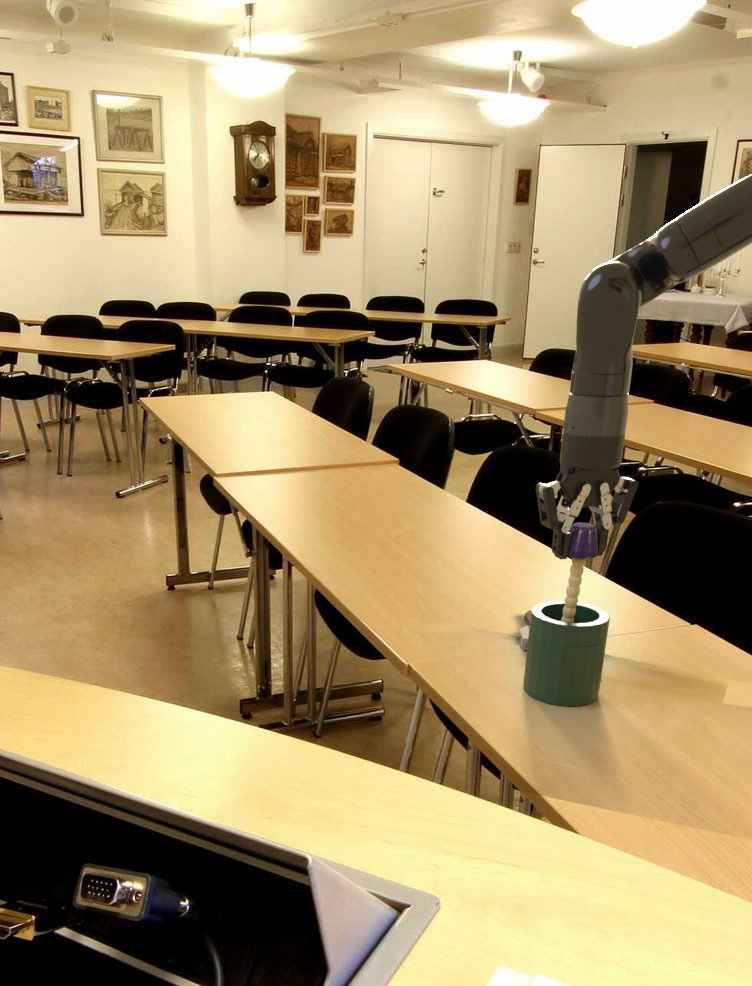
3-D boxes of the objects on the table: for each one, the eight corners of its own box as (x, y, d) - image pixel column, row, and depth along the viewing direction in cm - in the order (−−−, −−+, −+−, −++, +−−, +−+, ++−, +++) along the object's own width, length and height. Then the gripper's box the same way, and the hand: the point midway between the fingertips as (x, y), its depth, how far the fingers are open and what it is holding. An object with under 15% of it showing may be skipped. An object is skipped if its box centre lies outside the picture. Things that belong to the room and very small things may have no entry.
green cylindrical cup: (605, 685, 132) (616, 608, 128) (588, 712, 125) (600, 631, 120) (534, 671, 138) (543, 596, 133) (514, 696, 130) (522, 617, 125)
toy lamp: (586, 635, 129) (603, 521, 123) (583, 647, 125) (600, 531, 119) (551, 631, 131) (565, 518, 124) (547, 642, 127) (561, 527, 121)
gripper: (559, 437, 112) (544, 568, 119) (662, 430, 115) (642, 559, 121) (528, 428, 119) (516, 553, 126) (626, 421, 122) (609, 544, 128)
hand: (578, 555), depth 123 cm, fingers closed on toy lamp, 4 cm apart
